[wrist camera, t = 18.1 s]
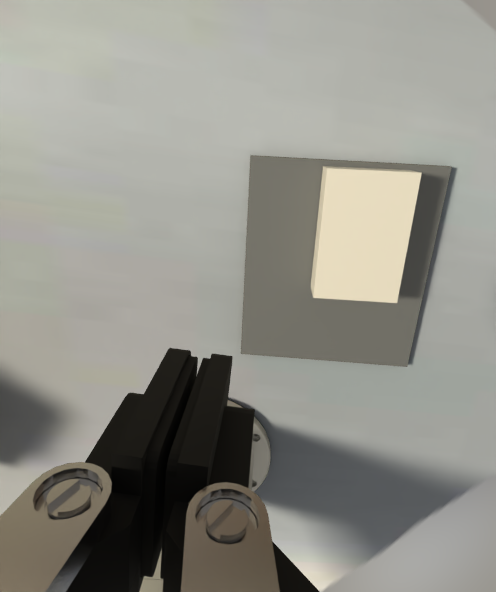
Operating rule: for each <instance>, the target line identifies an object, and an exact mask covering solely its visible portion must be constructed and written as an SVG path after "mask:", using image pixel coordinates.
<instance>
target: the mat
mask: <svg viewBox="0 0 496 592" xmlns="http://www.w3.org/2000/svg"><path fill="white" fill-rule="evenodd" d="M323 166H331V167H352V168H374V169H395V170H411V171H416V172H421V173H422V174H421V179H420V185H419V190H418V195H417V201H416V206H415V211H414V216H413V222H412V227H411V232H410V237H409V243H408V248H407V253H406V258H405V264H404V269H403V274H402V279H401V285H400V290H399V295H398V301H397V303H387V302H371V301H355V300H339V299H323V298H313V295H312V290H311V278H312V268H313V258H314V249H315V239H316V229H317V220H318V210H319V200H320V191H321V181H322V171H323ZM451 168H452V167H450V166H435V165H417V164H399V163H380V162H362V161H344V160H325V159H307V158H289V157H271V156H252V155H251V157H250V177H249V198H248V218H247V238H246V259H245V279H244V300H243V320H242V341H241V354H250V355H263V356H276V357H289V358H301V359H314V360H327V361H340V362H353V363H365V364H378V365H391V366H404V367H407V365H408V361H409V356H410V352H411V347H412V343H413V338H414V334H415V329H416V325H417V320H418V316H419V311H420V307H421V302H422V298H423V293H424V289H425V284H426V280H427V276H428V271H429V267H430V262H431V258H432V253H433V249H434V244H435V240H436V235H437V231H438V226H439V222H440V217H441V213H442V208H443V204H444V199H445V195H446V190H447V186H448V181H449V177H450V173H451Z"/></svg>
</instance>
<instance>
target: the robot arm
mask: <svg viewBox="0 0 496 592" xmlns="http://www.w3.org/2000/svg"><path fill="white" fill-rule="evenodd" d="M197 363H198V358H197V357H192V356H191V352H190V351H188V350H181V349H173V348H169V349H168V351H167V353H166V355H165V357H164V358H163V360H162V362H161V364H160V366H159V368H158V369H157V371H156V373H155V375H154V377H153V379H152V380H151V382H150V384H149V386H148V388H147V389H146V391H145V393H144V394H136V393H128V394H127V396H126V397H125V398H124V400H123V402H122V403H121V405H120V407H119V408H118V410H117V411H116V413H115V415H114V416H113V418H112V419H111V421H110V423H109V424H108V426H107V428H106V429H105V431H104V432H103V434H102V436H101V437H100V439H99V440H98V442H97V444H96V445H95V447H94V449H93V450H92V452H91V453H90V455H89V457H88V458H87V460H86V461H85V463H84V462H76V463H67V464H64V465H61V466H57V467H55V468H53V469H51V470H49V471H47V472H45V473H43V474H42V475H41V476H40V477H38V478H37V479H36V480H35V481H33V482H32V483H31V485H30V486H29V487H28V488H27V489H26V490H25V491H24V492H23V493H22V494H21V495H20V496H19V497H18V498H17V499H16V500H15V501H14V502H13V503H12V504H11V505H10V506H9V508H8V509H7V510H6V511H5V512H4V513H3V514H2V515H1V516H0V592H319V591H318V590H317V588H316V587H315V586H314V585H313V584H312V583H311V582H310V581H309V580H308V579H307V578H306V577H305V576H304V575H303V574H302V572H301V571H300V570H299V569H298V568H297V567H296V566H295V565H294V564H293V563H292V562H291V561H290V560H289V559H288V558H287V556H286V555H285V554H284V553H283V552H282V551H281V550H280V549H279V548H278V547H277V546H276V545H275V544H274V543H273V542H272V537H271V531H270V524H269V517H268V513H267V510H266V507H265V504H264V503H263V502H262V500H261V499H260V497H259V496H258V495H257V494H255V493H254V491H255V490H256V489H258V487H259V486H260V485H261V484H262V483H263V481H264V480H265V478H266V475H267V473H268V471H269V466H270V457H271V450H270V443H269V439H268V437H267V434H266V432H265V430H264V428H263V427H262V425H261V424H260V422H259V421H258V420H257V419H256V418H255V417H254V412H255V409H248V408H243V407H241V406H240V405H238V404H236V403H233V402H231V401H229V400H228V393H229V385H230V376H231V367H232V356H226V355H219V354H212V355H211V358H210V359H208V358H203V360H202V363H201V366H200V368H199V371H198V374H197ZM196 375H197V377H196Z"/></svg>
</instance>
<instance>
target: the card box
mask: <svg viewBox="0 0 496 592" xmlns="http://www.w3.org/2000/svg"><path fill="white" fill-rule="evenodd" d="M421 174H422V173H421V172H416V171H411V170H395V169H374V168H352V167H331V166H323V171H322V181H321V191H320V200H319V210H318V220H317V229H316V239H315V249H314V258H313V268H312V278H311V290H312V295H313V298H323V299H339V300H355V301H371V302H387V303H397V301H398V295H399V290H400V285H401V279H402V274H403V269H404V264H405V258H406V253H407V248H408V243H409V237H410V232H411V227H412V222H413V216H414V211H415V206H416V201H417V195H418V190H419V185H420V179H421Z"/></svg>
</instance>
